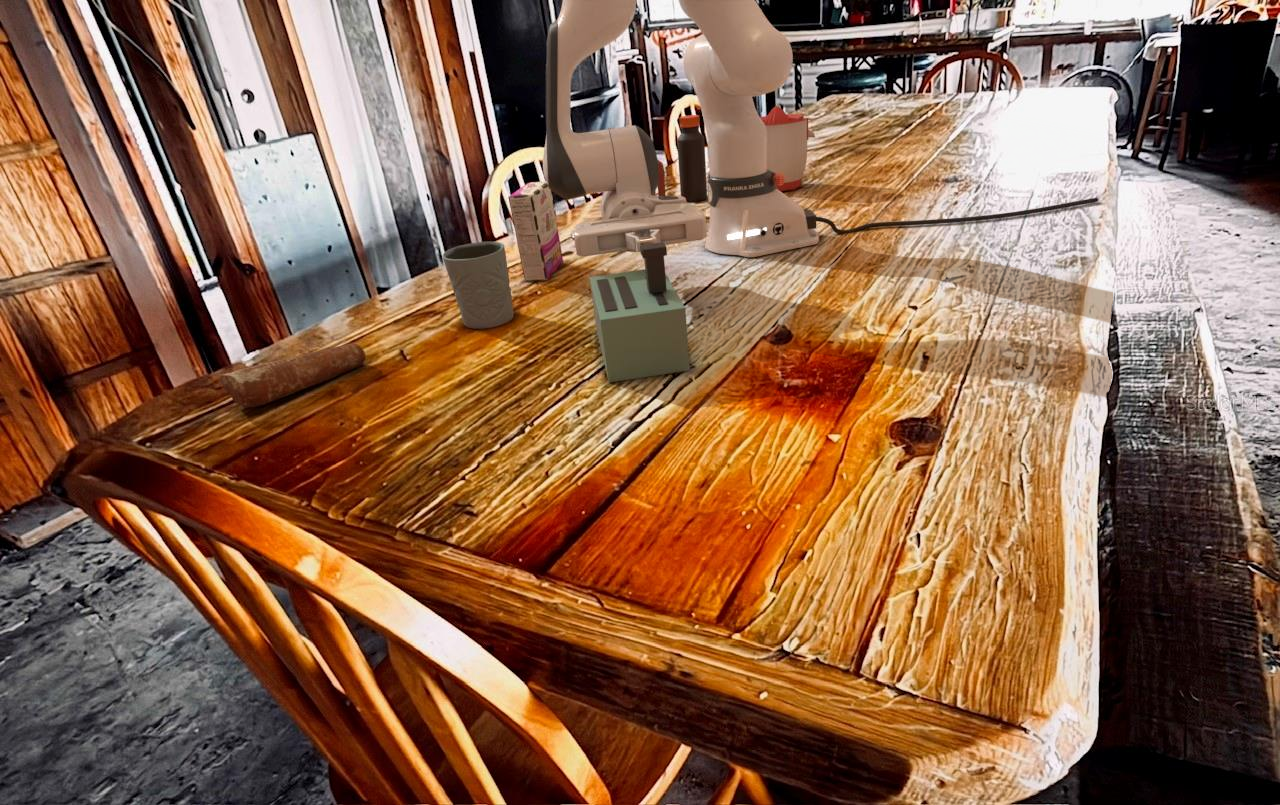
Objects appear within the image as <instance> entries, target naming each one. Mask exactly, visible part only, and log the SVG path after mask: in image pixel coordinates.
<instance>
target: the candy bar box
mask: <svg viewBox="0 0 1280 805" xmlns="http://www.w3.org/2000/svg"><path fill="white" fill-rule="evenodd" d="M552 192H553V191H552V190H550V189H549V188H548V184H547V182H546V181H532V182H531V181H530V182H527V183H525V184H524V185H523V186H521V187H520V188H519V189H517V190H516V191H515V192H513V193H512V194H510V195H509V196H508V201H509V202H508V203H509V208H510V212H511V218H512V223H513V228H514V234H515V236H516V243H517V247H518V254H519V257H520V263H521V268H522V273H523V278H524V281H525V282H540V281H541V282H542V281H548V280H549V279H550V278H551V277H552V276H553V275H554V273H555V272H557V270H558V269H559V268H560V267H561V265H563V264H564V258H563V253H562V252H563V251H562V246H561V240H560V234H559V228H558V222H557V217H556V211H555V210H556V209H555V205H554V204H555V203H554V198H553V193H552Z"/></svg>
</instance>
